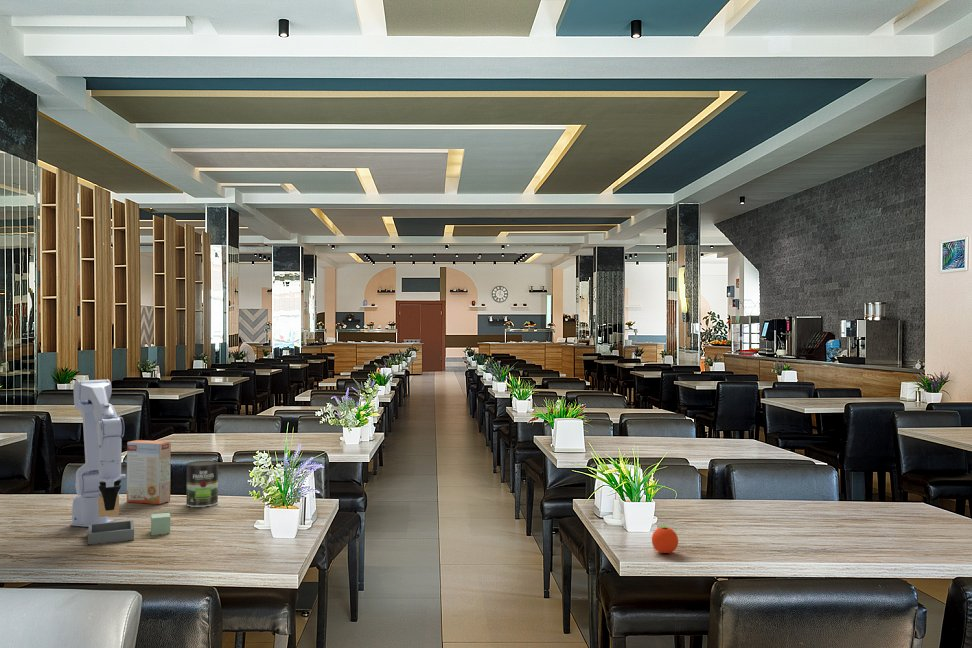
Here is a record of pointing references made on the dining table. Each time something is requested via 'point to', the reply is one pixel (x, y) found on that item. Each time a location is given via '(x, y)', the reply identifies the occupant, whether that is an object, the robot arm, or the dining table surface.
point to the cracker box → (148, 471)
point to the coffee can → (202, 483)
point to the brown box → (101, 507)
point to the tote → (111, 532)
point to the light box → (160, 523)
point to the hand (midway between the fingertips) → (109, 508)
